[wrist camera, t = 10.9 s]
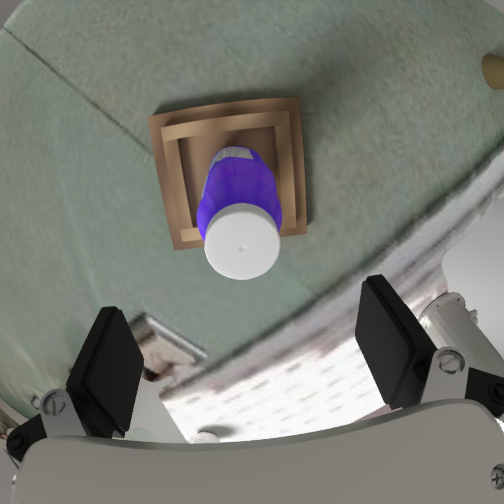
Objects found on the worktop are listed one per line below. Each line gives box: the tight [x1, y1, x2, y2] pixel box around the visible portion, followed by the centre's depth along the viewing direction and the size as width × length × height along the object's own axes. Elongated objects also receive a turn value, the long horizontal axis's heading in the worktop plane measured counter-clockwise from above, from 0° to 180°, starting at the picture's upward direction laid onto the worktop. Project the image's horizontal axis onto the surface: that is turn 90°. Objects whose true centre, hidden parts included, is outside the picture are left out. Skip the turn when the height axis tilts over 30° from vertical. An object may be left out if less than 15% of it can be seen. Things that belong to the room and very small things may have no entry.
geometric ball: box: [190, 432, 221, 443], centre depth 56 cm, size 8×8×8 cm
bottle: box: [197, 146, 283, 280], centre depth 23 cm, size 7×6×17 cm
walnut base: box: [148, 97, 307, 250], centre depth 31 cm, size 16×16×3 cm
